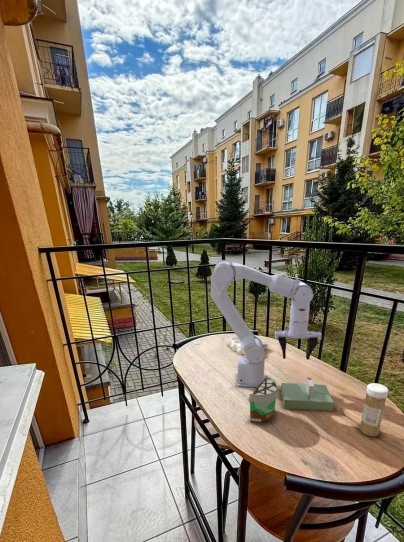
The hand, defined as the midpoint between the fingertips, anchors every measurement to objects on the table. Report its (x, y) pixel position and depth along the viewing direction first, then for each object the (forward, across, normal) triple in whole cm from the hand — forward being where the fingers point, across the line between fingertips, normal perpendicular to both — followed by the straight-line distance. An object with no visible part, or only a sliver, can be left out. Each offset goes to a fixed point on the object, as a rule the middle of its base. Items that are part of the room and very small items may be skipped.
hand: (295, 358), depth 96 cm
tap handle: (+6, -3, +11) cm, 13 cm away
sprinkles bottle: (+10, -16, +24) cm, 30 cm away
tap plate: (+9, -2, +11) cm, 15 cm away
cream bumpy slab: (+10, +17, -28) cm, 34 cm away
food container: (+10, +10, +21) cm, 25 cm away
